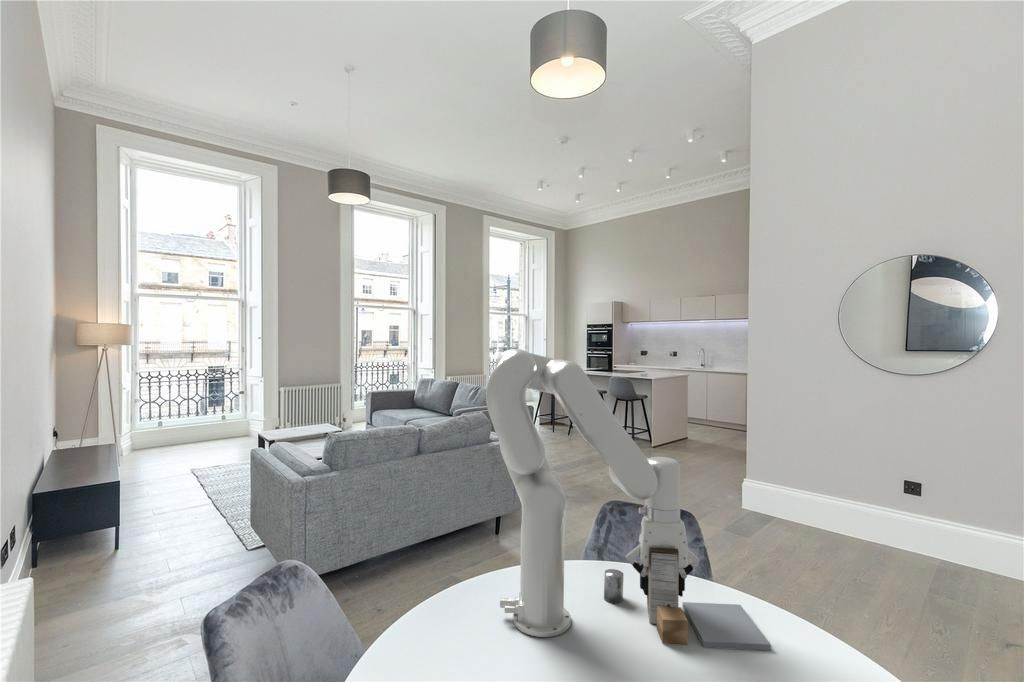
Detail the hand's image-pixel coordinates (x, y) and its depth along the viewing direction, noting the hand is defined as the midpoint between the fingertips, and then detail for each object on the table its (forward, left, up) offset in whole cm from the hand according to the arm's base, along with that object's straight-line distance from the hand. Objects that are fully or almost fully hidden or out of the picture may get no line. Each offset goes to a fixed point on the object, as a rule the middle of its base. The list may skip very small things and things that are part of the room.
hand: (662, 592), depth 109 cm
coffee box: (0, 0, -5) cm, 5 cm away
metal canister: (-10, +6, -5) cm, 13 cm away
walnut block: (0, -9, -5) cm, 10 cm away
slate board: (+12, -4, -5) cm, 14 cm away
